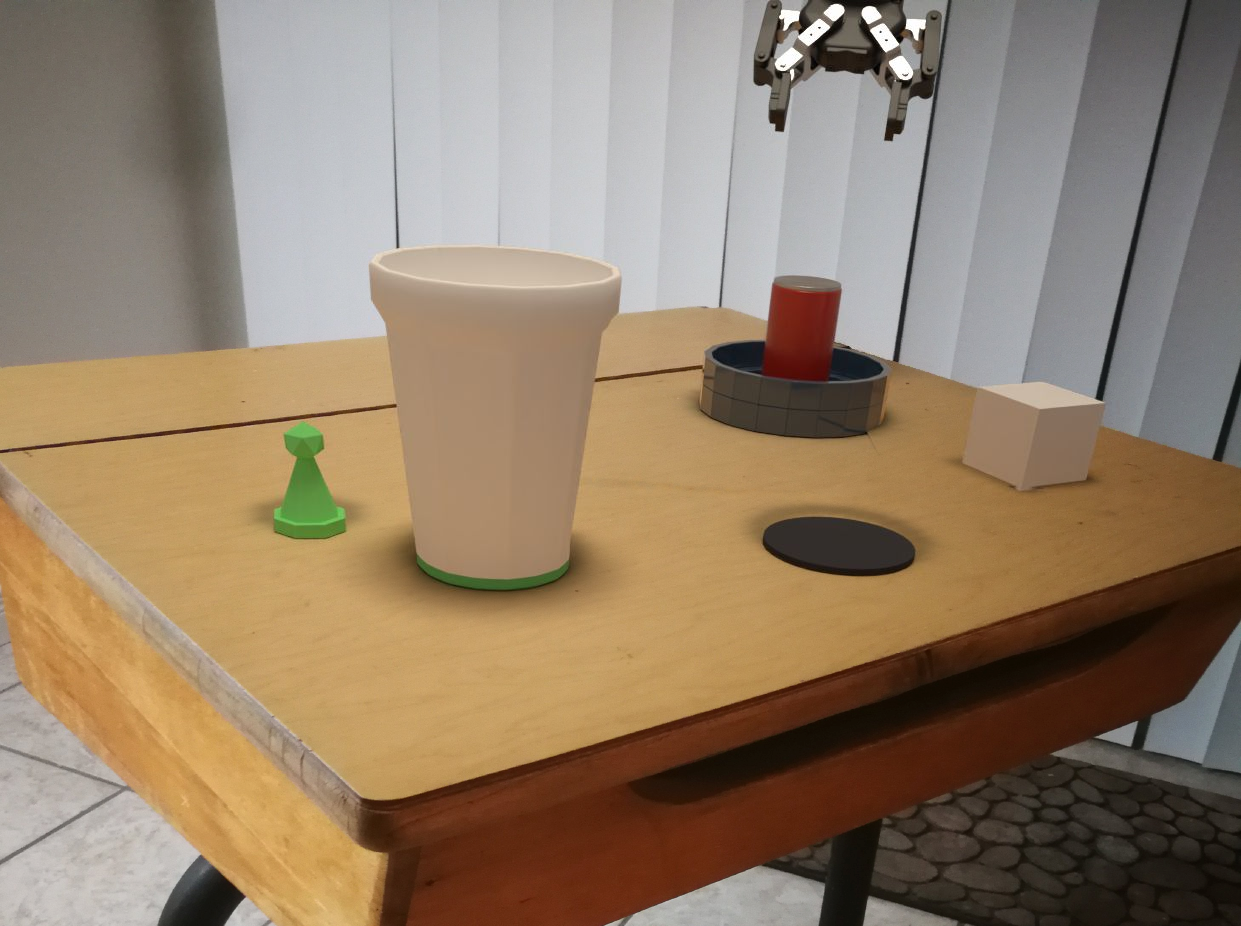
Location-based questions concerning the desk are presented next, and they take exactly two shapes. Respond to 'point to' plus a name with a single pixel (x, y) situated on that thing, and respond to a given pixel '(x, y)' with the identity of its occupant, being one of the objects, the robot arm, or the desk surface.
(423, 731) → the desk surface
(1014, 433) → the beige cube
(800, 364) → the can
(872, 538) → the coaster
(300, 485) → the game piece
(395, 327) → the cup
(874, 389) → the dish
